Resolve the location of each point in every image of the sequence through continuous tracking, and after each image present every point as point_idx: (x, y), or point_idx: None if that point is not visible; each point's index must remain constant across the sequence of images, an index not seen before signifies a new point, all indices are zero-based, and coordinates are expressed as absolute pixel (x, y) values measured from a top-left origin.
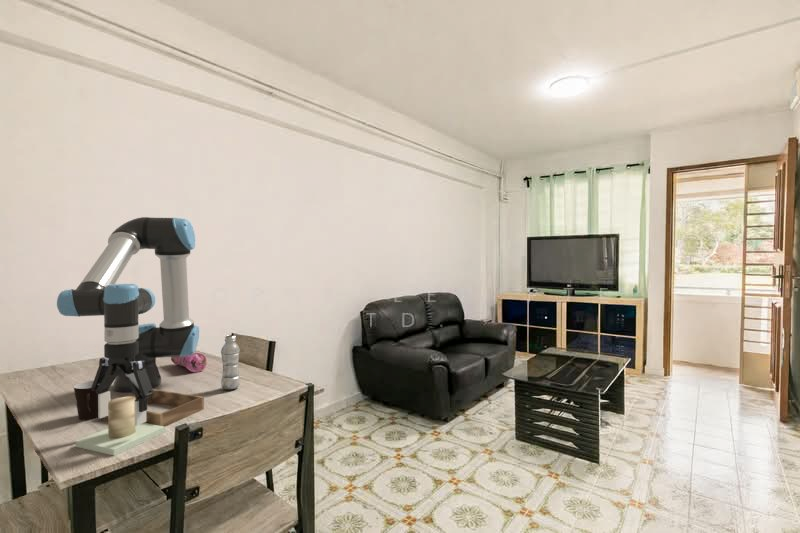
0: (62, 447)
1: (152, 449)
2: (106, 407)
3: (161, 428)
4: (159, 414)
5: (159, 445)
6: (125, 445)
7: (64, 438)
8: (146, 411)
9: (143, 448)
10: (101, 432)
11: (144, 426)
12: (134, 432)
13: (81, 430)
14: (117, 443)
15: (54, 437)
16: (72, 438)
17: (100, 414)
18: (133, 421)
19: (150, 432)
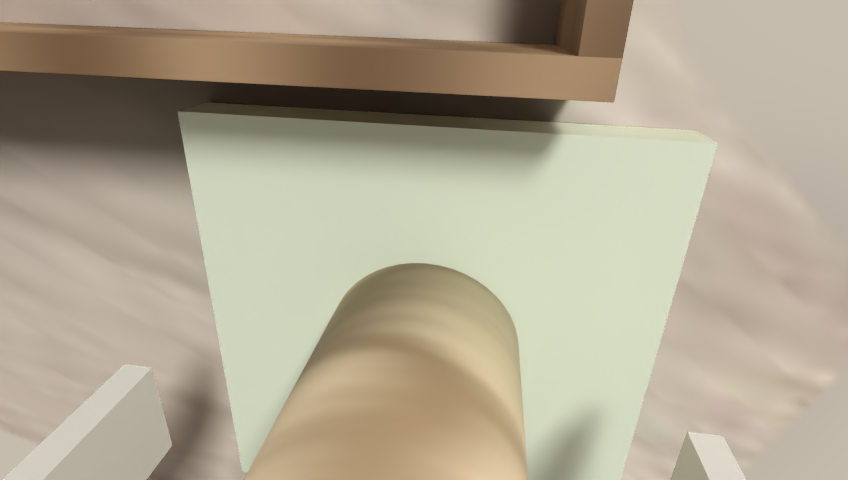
0: (201, 455)
1: (812, 396)
2: (90, 478)
3: (704, 184)
4: (590, 94)
5: (829, 341)
6: (623, 463)
7: (70, 379)
8: (312, 63)
9: (725, 395)
10: (251, 361)
11: (482, 196)
12: (509, 317)
13: (9, 276)
14: (547, 463)
15: (6, 380)
16: (110, 371)
17: (147, 477)
18: (520, 405)
19: (658, 283)
